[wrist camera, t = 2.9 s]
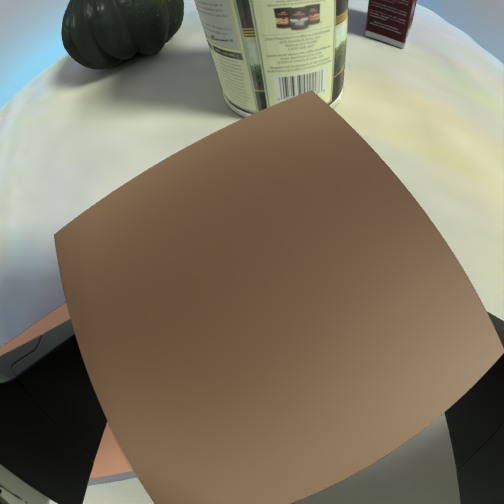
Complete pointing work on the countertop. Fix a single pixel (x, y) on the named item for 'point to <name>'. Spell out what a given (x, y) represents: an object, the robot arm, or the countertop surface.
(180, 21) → the squash
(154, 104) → the countertop surface
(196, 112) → the countertop surface
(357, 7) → the countertop surface
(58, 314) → the top slab
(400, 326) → the walnut block
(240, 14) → the coffee can
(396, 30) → the supplement box
